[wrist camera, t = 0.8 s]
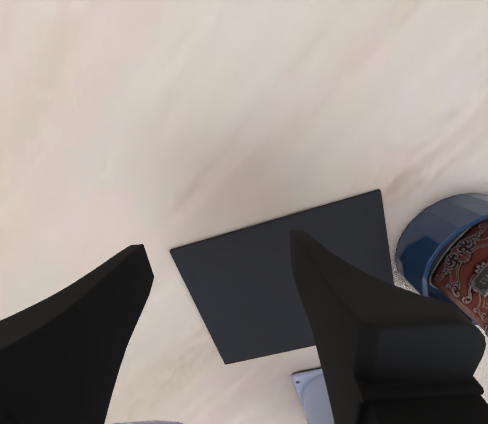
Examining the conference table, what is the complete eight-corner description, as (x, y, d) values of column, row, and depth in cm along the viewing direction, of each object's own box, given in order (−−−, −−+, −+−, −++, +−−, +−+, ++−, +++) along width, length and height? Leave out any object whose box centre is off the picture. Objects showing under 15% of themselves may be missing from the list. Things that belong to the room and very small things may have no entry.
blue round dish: (513, 279, 24) (561, 308, 21) (401, 304, 26) (426, 336, 22) (520, 177, 21) (579, 190, 17) (389, 213, 22) (417, 232, 18)
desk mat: (397, 324, 27) (400, 327, 26) (225, 361, 29) (225, 364, 29) (378, 189, 21) (381, 190, 21) (170, 249, 24) (169, 251, 24)
